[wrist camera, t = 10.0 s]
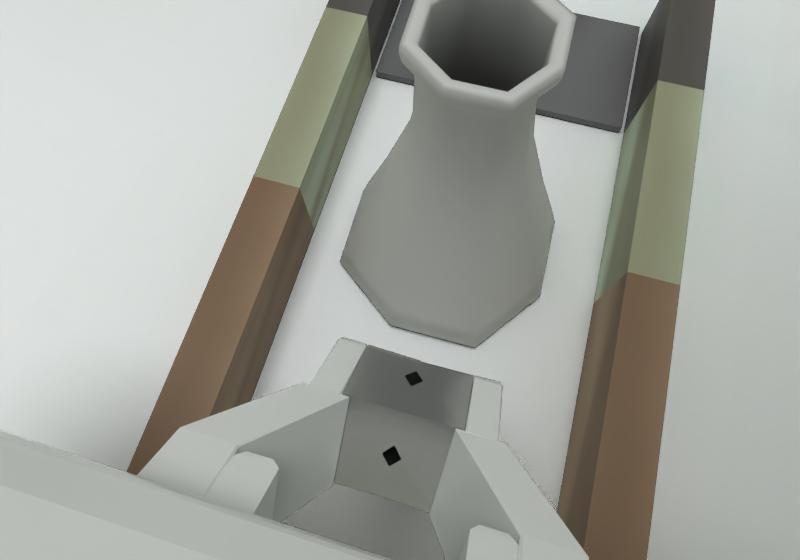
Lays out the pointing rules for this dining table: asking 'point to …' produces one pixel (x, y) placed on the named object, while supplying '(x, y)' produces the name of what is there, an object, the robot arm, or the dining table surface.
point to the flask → (464, 171)
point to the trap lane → (619, 272)
